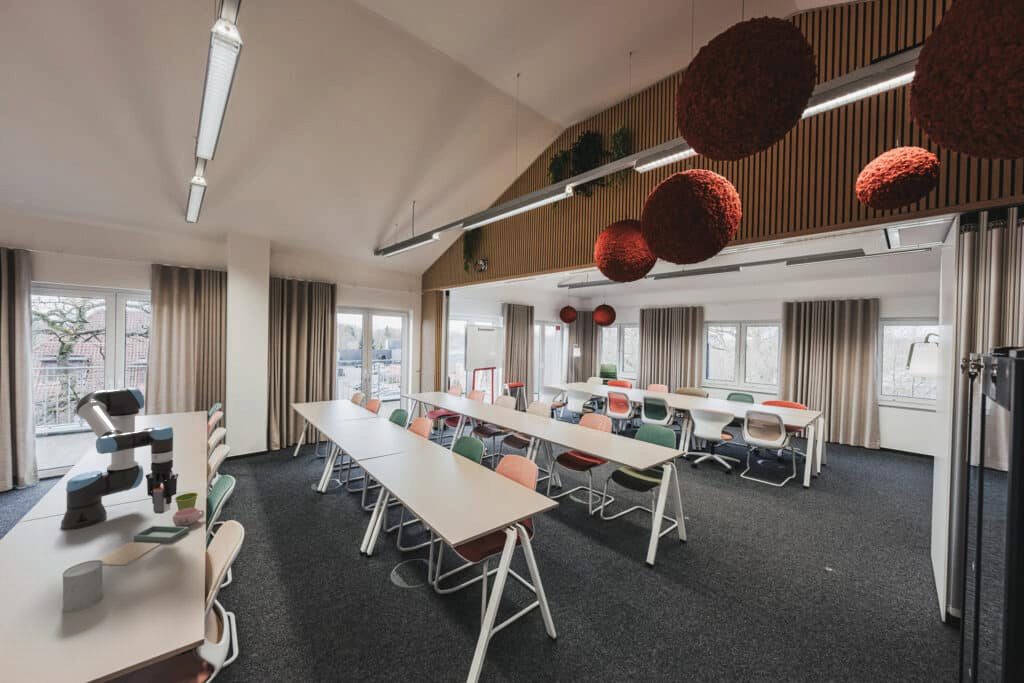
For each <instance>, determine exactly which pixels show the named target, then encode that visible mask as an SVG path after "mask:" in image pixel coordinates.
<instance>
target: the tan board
mask: <svg viewBox="0 0 1024 683" xmlns="http://www.w3.org/2000/svg"><path fill="white" fill-rule="evenodd" d="M160 545H162V542H141V541H130V542H128V543H126V544H124V545H123V546H121V547H119V548H117V549H115V550H113V551H112V552H110V553H108V554H106V555H104V556H102V557H100V558H99V559H97V560H100V561H102V562H103V565H102V566H116V567H117V566H120V567H122V566H124V567H125V566H127V565H129V564H130V563H132V562H133V561H135V560H137V559H139V558H141V557H142V556H144V555H145V554H147V553H149V552H150V551H152V550H154V549H156V548H157V547H159V546H160Z"/></svg>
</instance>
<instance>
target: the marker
mask: <svg viewBox="0 0 1024 683" xmlns="http://www.w3.org/2000/svg"><path fill="white" fill-rule="evenodd" d="M153 492H154V496H153V503H152V505H153V508H152V510H153V511H155V512H154V514H159V515H160V514H161V515H162V514H164V513H165V512H163V511H164V497H165V493H164V487H163V485H161V486H160V487H158V488H156V489H153ZM153 511H152V512H153Z"/></svg>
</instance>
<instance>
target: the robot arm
mask: <svg viewBox="0 0 1024 683" xmlns="http://www.w3.org/2000/svg"><path fill="white" fill-rule="evenodd" d="M144 406H145V398H144V395H143V393H142V391H141V390H140V389H139V388H137V387H123V388H113V389H103V390H102V389H101V390H95V391H91V392H89V393H88V394H86V395H84V396H83V397H82V398H80V400H79V401H78V402H77V404H76V407H75V411H76V414H77V415H78V416H79V418H81V419H83V420H85V422H86V423H87V424H88V425H89V427H90V428H91V430H92V431H93V433H94V434H95V435H96V437H97V438H96V440H95V448H96V452H97V453H98V454H101V455H103V454H104V455H105V454H110V455H111V456H110V464H109V465H108V466H107V467H106V471H105V472H102V471H100V470H94V471H93V470H92V471H87V472H84V473H80V474H78V475H75V476H73V477H71V478H70V479H69V480H68V481H67V482H66V487H65V488H66V489H65V491H66V511H65V513H64V515H63V518H62V520H61V521H60V522H61V523H60V528H61V529H63V530H72V529H73V530H75V529H76V530H77V529H81V528H86V527H90V526H92V525H96V524H98V523H101V522H103V521H104V520H106V518H108V517H107V516H108V512H107V510H106V509H105V506H104V504H103V502H102V501H103V500H102V499H103V497H105V496H109V495H113V494H118V493H120V492H121V493H122V492H128V491H130V490H132V489H136V488H138V487H139V486H140V485H141V483H142V481H143V478H144V468H143V466H142V465H140V464H139V462H138V461H136V460H135V449H137V448H143V447H147V446H150V462H151V463H150V471H151V472H150V473H148V474H146V475H145V478H146V486H147V487H146V488H147V490H146V491H147V496H149V497H151V498H152V499H151V500H152V504H153V496H154V492H153V489H156V488H158V487H160V486H163V487H164V493H165V497H164V511H163V512H164V513H166V512H169V511H170V510H171V504H172V499H173V498H172V497H173V496H175V495H177V487H178V485H177V484H178V477H179V473H173V470H172V469H173V466H174V460H173V459H174V430H173V429H174V428H173V427H172V426H170V425H165V426H157V427H146V428H143V429H142V430H137V431H136V426H135V425H136V416H137V415H138V414H140V410H142V409H144ZM152 512H154V513H155V511H152Z"/></svg>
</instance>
